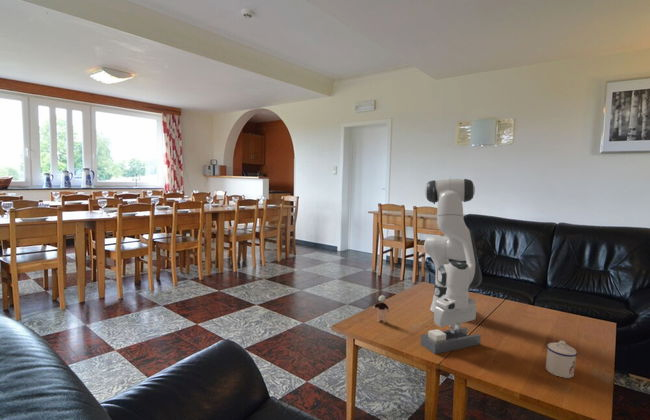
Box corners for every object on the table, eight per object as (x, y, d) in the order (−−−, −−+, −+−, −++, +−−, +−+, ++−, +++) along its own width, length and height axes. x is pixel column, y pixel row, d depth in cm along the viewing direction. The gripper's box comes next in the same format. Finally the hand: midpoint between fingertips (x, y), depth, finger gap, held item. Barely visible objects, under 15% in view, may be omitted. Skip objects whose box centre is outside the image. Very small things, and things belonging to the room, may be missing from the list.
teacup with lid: (575, 381, 126) (579, 349, 124) (545, 373, 130) (548, 343, 129) (572, 366, 136) (575, 336, 135) (544, 359, 140) (547, 331, 139)
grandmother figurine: (388, 320, 173) (390, 294, 172) (389, 323, 169) (390, 297, 168) (372, 319, 174) (373, 293, 173) (372, 322, 170) (374, 296, 169)
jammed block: (437, 340, 151) (437, 329, 150) (445, 346, 146) (446, 334, 146) (427, 342, 149) (428, 330, 148) (435, 348, 144) (436, 336, 144)
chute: (464, 335, 159) (464, 326, 159) (480, 344, 151) (480, 335, 151) (420, 344, 150) (421, 335, 149) (434, 354, 142) (435, 344, 141)
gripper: (469, 295, 156) (466, 325, 158) (432, 301, 148) (430, 333, 149) (481, 300, 151) (478, 331, 152) (443, 306, 142) (441, 340, 144)
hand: (454, 332), depth 151 cm, fingers closed
